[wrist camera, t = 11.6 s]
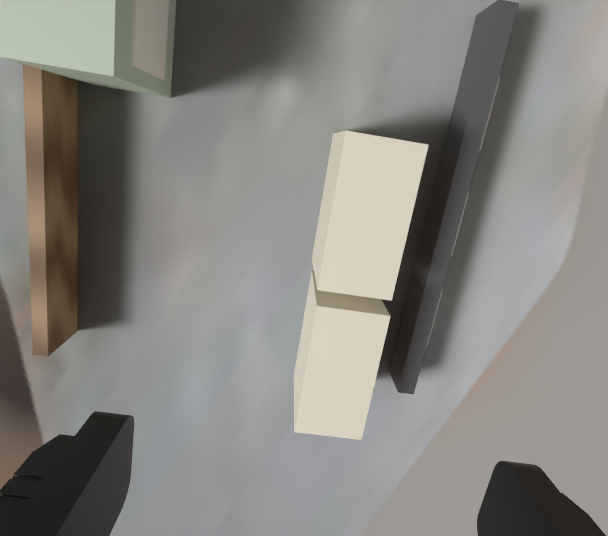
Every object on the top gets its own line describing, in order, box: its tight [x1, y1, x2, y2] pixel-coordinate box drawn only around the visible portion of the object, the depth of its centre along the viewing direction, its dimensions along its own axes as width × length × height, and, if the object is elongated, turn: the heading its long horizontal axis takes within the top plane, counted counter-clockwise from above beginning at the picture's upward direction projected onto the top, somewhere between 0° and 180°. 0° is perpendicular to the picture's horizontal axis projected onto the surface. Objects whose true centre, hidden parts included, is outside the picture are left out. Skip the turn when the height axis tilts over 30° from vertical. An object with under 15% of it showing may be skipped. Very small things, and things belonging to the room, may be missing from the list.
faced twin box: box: [294, 271, 391, 440], centre depth 29 cm, size 5×9×7 cm, turn 171°
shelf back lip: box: [23, 64, 78, 356], centre depth 26 cm, size 26×1×4 cm, turn 171°
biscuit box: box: [312, 131, 429, 301], centre depth 26 cm, size 5×9×7 cm, turn 171°
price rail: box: [389, 0, 519, 394], centre depth 28 cm, size 26×2×3 cm, turn 171°
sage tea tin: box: [0, 0, 176, 98], centre depth 22 cm, size 8×5×9 cm, turn 171°
